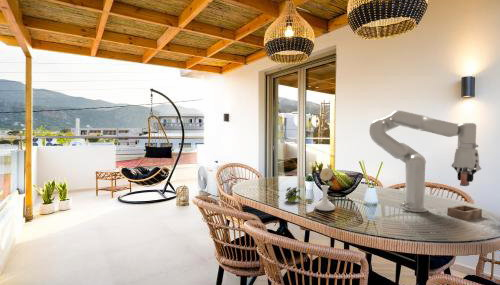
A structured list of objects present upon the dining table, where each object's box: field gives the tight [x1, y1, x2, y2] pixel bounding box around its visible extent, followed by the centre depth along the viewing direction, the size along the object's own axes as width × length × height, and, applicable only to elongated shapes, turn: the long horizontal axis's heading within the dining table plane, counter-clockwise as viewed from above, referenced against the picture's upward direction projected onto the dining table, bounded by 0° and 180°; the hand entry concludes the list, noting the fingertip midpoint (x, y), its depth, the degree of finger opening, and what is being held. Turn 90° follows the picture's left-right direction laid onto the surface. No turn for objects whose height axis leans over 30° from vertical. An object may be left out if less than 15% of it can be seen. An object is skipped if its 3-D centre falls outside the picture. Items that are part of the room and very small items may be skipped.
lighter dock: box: [446, 204, 483, 221], centre depth 150 cm, size 13×9×4 cm
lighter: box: [459, 167, 470, 187], centre depth 149 cm, size 8×3×10 cm, turn 129°
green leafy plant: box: [284, 186, 302, 204], centre depth 182 cm, size 11×11×12 cm
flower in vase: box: [314, 167, 336, 212], centre depth 162 cm, size 13×11×25 cm
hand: (465, 180), depth 149 cm, fingers closed on lighter, 4 cm apart
